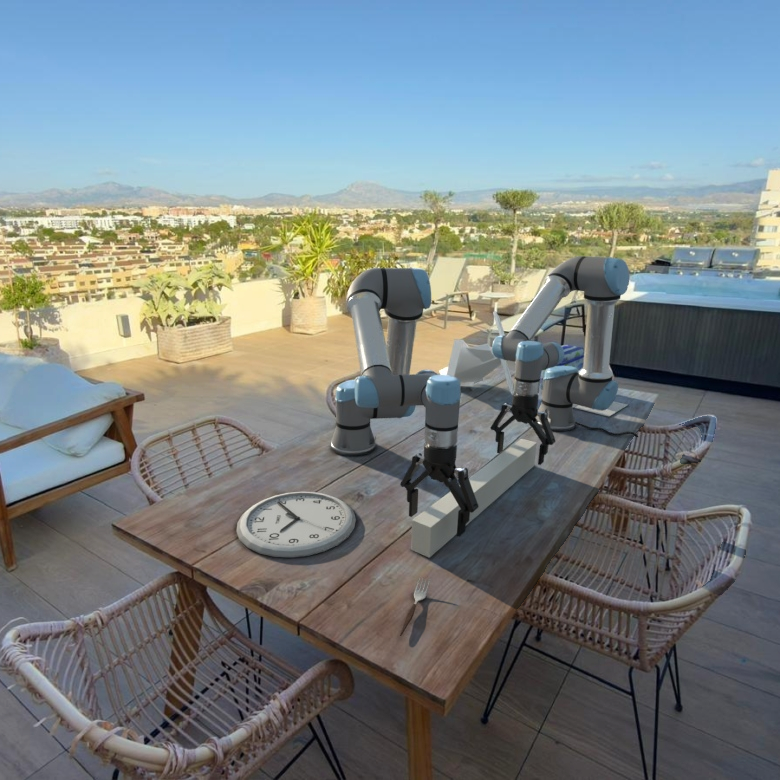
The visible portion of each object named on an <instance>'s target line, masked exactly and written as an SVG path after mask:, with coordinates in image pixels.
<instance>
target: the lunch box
mask: <svg viewBox="0 0 780 780" xmlns="http://www.w3.org/2000/svg"><path fill="white" fill-rule="evenodd" d="M561 346H562V348H563V350H564V359H563V361H562V362H561V363H560V364H558V365H556V366H573V367H576V368H577V370H578V371H577V373H578V372H579V370H581V369H582V368H583V363H584V350H585V347H582V346H577V345H576V346H574V345H570V344H563V345H561ZM545 371H546V369H545V370H542V371H541V376H540V387H539V389H540V390H541V391H543V381H544V380H543V379H544V375H545Z"/></svg>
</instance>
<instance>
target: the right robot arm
mask: <svg viewBox="0 0 780 780" xmlns="http://www.w3.org/2000/svg"><path fill="white" fill-rule="evenodd" d="M629 285H630V269H629V266H628V264H627V263H626V261H625V260H624V259H622V258H617V257H616V258H615V257H611V256H610V257H609V256H586V255H578V256H574V257H571V258H569V259H567V260H565V261H563V262H561V263H560V264H559V265H557V266H556V267H555V268H554V269H552V270H551V272H549V274H548V275H547V276H546V278H545V279H544V281H543V286H542V288H541V289H540V290H539V292H538V293H537V294H536V296H535V297H534V298H533V300H532V301H531V303H530V304H529V305H528V306H527V308H526V309H525V310H524V312H523V313H522V315H521V316H520V317H519V319H518V320H517V321H516V322H515V324H514V325H513V327H512V328H511V329H510V331H508V333H507V335H505V336H504V335H503V336H500V335H498V336H496V337H495V338H494V339H493V341H492V345H491V348H492V352H493V355H494V356H495V357H497V358H500V359H503V360H508V362H513V363H514V362H516V365H515V364H514V366H515V367H514V377H513V385H514V388H513V390H514V393H513V395H512V401H511V405H510V404H509V403H508V402H505V403H503V404H502V405H501V409H500V411H499V413H498V415H497V416H496V417H495V420H494V421H493V422H492V424H491V426H490V430H491V431H494V432H495V438H494V439H495V442H496V443H497V446H496V454H501V453H503V452H504V440H505V431H504V430H505V429H506V428H507V427H508V426H509V425H510V424H512V423H513V422H514V421H516V422H517V423H523V424H525V425H527V424H528V425H529V426H530V427H531V428H532V430H533V432H535V434H536V436H537V437H538V439H539V440H540V442H541V443H539V449H538V460H537V465H538V466H541V465H542V464H544V462H545V456H546V455H547V454H548V453H549V446H552V445H554V444H555V443H556V437H555V435H554V431H556V432H567V431H572V430H574V429H575V428H576V425H577V426H580V427H583V428H585V429H587V430H592V431H601V432H604V433H606V434H608V435H610V436H616V437H617V436H625V435H632V436H634V437H635V438H639V435H638V434H637V433H635V432H633V431H624V432H612V431H609V430H608V429H605V428H602V427H592V426H588V425H586V424H584V423H581V422H578V421H576V418H575V417H576V416H575V413H574V407H573V405H576V406H578V405H580V406H584V407H588V408H592V409H596V410H601V411H603V410H606V409H608V408H609V407H610V406H611V404H612V403H613V401H614V402H615V399H616V397H617V394H618V391H619V383H618V381H617V380H615V379H613V375H614V373H613V371H612V370H611V369H610V360H611V349H612V339H613V337H612V336H613V330H614V329H613V327H614V319H615V318H614V317H615V309H616V308H615V307H616V303H617V302H619V301H620V300H621V296H622V295H624V294H626V292H627V290H628V288H629ZM575 291H579V292H583V300H585V301H586V302H587V312H586V313H587V314H586V326H585V338H584V362H583V368H582V369H581V370H579V372H578V373H577V371H578V370H577V368H576V367H573V366H556V365H558V364H560V363H561V362H562V361H563V359H564V350H563V348H562V346H563V345H561V344H560V343H558V342H554V341H552V342H550V341H549V342H546V343H545V342H540V341H536V340H534V338H535V337H536V335H537V334H538V332H539V331H540V330H541V328H542V327H543V326H544V324H545V323H546V321H547V320H549V319H548V318H549V317H550V316H551V315H552V313H553V312H554V311H555V309H556V308H557V307H558V305H559V304H560V302H561V300H563V298H566V297H568V296H569V295H570V294H571V292H575ZM545 369H546V371H545V375H544V379H543V380H544V381H543V390H541V391H542V394H541V402H540V405H539V397H540V395H539V393H540V378H541V371H542V370H545ZM538 405H539V407H538ZM509 411H510V412H511V414H512V415H511V416H510V417H508V419H507V420H505V421H504V422H503V423H502V424H501V425H500V423H501V422H502V420H503V419H504V417H505V416H506V414H507V413H508V412H509Z"/></svg>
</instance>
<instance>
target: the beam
mask: <svg viewBox="0 0 780 780" xmlns="http://www.w3.org/2000/svg"><path fill="white" fill-rule="evenodd" d="M537 447H538V442H536V441H534V440H533V441H532V440H528V439H525V438H520V439H519V440H518V441H517V442H515V443H513V444H512V445H511V446H509V447H508V448H507V449H506V450H503V451H502V452H501V453H499V455H498V456H496V457H495V458H493V459H492V460H491V461H489V462H488V463H487V464H486V465H484V466H483V467H481V468H480V469H478V470H477V471H476V472H474V473H473V474H472V475H471V476H470V477H469V476H468V478H469V481H470V484H471V486H472V489H473V492H474V495H475V498H476V500H477V503H478V506H479V507H478V508H477V509H476V510H475V511H474V512H472V513H471V512H470V518H469V522H468V523H466V526H468V525H469V524H470V523H471V522H472V521H473V520H474V519H476V518H477V517H478V516H479V515H480V514H481V513H483V512H484V510H486V509H487V508H489V506H490V505H492V504H493V503H494V502H495V501H496V500H497V499H498V498H499V497H501V496H502V495H503V494H504V493H505V492H506V491H507V490H508V489H509V488H511V487H512V486H513V485H514V484H515V483H517V482H518V481H519V480H520V479H521V478H522V477H523V476H524V475H526V474H527V473H528V472H529V471H530V470H531V469H532V468H534V467H535V465H536V455H537ZM459 486H460V484H459ZM460 509H461V508H460V507H459V505H458V503H457V501H456V500H455V498H454V496H453V495H452V493H451V491H450V490H449V492H448V493H446V494H445V495H443V497H441V498H439V499H438V500H437V501H435V502H434V503H433V504H432V505H430V506H429V507H428V508H426V509H424V510H423V511H421V512H420V513H419V514H418V515H417V516H415V517H414V518H413V519H412V520H411V540H410V541H411V543H410V545H411V546H410V550H411V551H413V552H414V553H417V554H420V555H422V556H424V557H426V558H428V559H429V558H431V557H432V556H433V555H435V554H436V553H437V552H438V551H439V550H440V549H441V548H442V547H444V546H445V545H446V544H447V543H448V542H450V541H451V539H453V538H454V537H455V536H457V524H458V511H459V510H460Z"/></svg>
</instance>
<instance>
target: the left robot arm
mask: <svg viewBox="0 0 780 780" xmlns="http://www.w3.org/2000/svg"><path fill="white" fill-rule="evenodd" d="M345 304H346V310H347V313H348V315H350V316H351V320H352V325H353V331H354V339H355V345H356V351H357V359H358V365H359V371H360V375H359V376H357V377H355V379H350V380H346V381H343V382H342V383H340V384H338V385H337V387H336V389H335V398H334V400H335V415H334V417H335V429H334V432H333V434H332V438H331V441H330V448H331V451H332V452H333V453H335V454H338V455H341V456H347V457H360V456H365V455H368V454H370V453H373V452H374V451H375V450H376V440H377V436H374V433H373V430H372V427H371V420H374V419H375V420H376V419H402V418H408V417H410V416H412V415H413V414H414V412H415V409H416V407H417V406H423V407H424V408H425V415H424V417H425V418H424V419H425V420H424V439H423V440H424V444H423V455H422V453H421V452H418V453H416V454H415V455H413V456H412V458H411V464H410V465H409V467H408V469H407V471H406V473H405V474H404V476H403V478H402V480H401V481H400V483H399V485H400V487H402V488H405V490H406V502H407V503H408V517H410V518H412V517H413V516H415V515H416V514H418V511H419V510H418V508H419V507H418V506H419V488H416V487H418V486H419V485H420V484H422V482H423V481H425V480H426V479H427V478H428V477H429V478H430V480H432V481H437V482H439V483H441V484H442V483H444V485H445V487H446V488H448V489H449V492H450V491H451V493H452V495H453V496H454V498H455V500H456V501H457V503H458V505H459V507H460V508H461V509H460V510H459V511H458V524H457V534H456V537H461V536H462V535H463V534H464V533H466V526H467V525H466V523H468V522H469V518H470V512H471V513H472V512H474V511H475V510H476V509H477V508H478V507H479V506H478V503H477V500H476V498H475V495H474V492H473V489H472V486H471V484H470V481H469V469H468V468H467V467H462V468H460V467H457V466H456V461H457V453H458V452H457V451H458V437H459V435H458V434H459V419H460V417H459V416H460V406H461V405H460V404H461V396H462V392H461V383H460V381H459V380H458V379H457V378H456V377H452V376H449V375H440V373H437V372H435V371H434V370H432V369H423V370H422V369H421V370H420V371H418V372H416V373H413V374H411V366H412V358H413V351H414V345H415V344H414V343H415V336H416V329H417V327H416V326H417V321H418V320H419V319H421V318H422V317H423V314H424V310H427V309H428V310H429V309H430V308H431V306H432V288H431V281H430V277H429V275H428V273H427V271H426V270H425V269H423V268H420V267H419V268H418V267H416V268H415V267H372V268H369V269H366V270H363V271H362V272H361V273H359V274H358V275H357V276H356V277H355V278H354V280H352V282H351V284H350V285H349V288H348V289H347V293H346V299H345ZM381 310H383V311H384V314H385V315H386V316H387V317H388V321H387V330H386V337H385V333H384V327H383V322H382V318H381ZM421 465H423V467H424V469H425V470H424V471H423V472H422V473H420V475H419V476H418V477H416V478H414V476H415V474H416V473H417V471H418V470H419V467H420V466H421ZM413 478H414V480H413ZM412 480H413V481H412ZM411 481H412V482H411ZM459 485H460V486H459Z"/></svg>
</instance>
